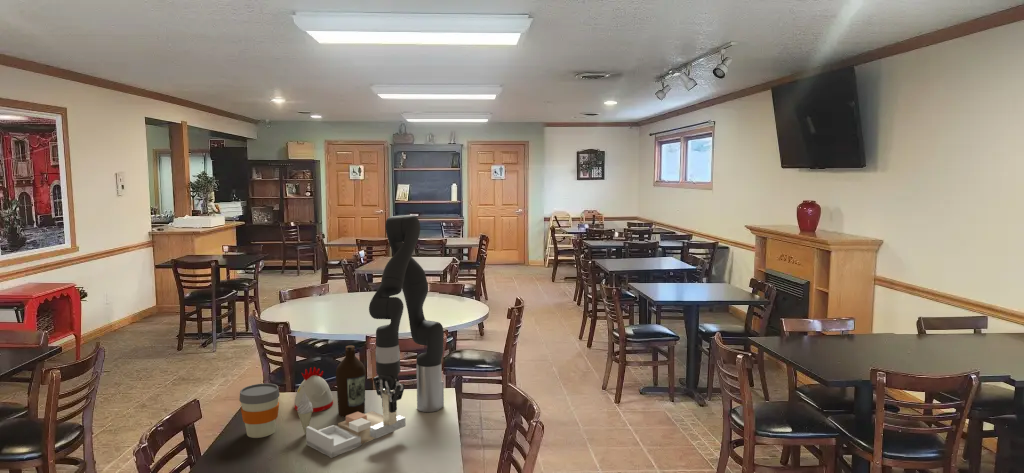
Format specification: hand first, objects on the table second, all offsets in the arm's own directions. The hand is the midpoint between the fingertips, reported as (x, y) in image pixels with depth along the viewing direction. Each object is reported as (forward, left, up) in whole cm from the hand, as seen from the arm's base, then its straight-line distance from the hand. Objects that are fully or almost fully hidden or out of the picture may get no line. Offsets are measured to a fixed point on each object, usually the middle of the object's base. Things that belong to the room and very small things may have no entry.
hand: (389, 410), depth 196 cm
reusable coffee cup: (+22, -41, -12) cm, 48 cm away
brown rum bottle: (-8, -32, -12) cm, 35 cm away
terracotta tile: (+1, -16, -8) cm, 18 cm away
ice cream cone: (+13, -28, -12) cm, 33 cm away
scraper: (0, -1, -7) cm, 7 cm away
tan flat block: (-1, -14, -12) cm, 18 cm away
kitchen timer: (-3, -49, -12) cm, 51 cm away
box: (+12, -14, -12) cm, 22 cm away
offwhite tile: (+4, -11, -8) cm, 14 cm away
